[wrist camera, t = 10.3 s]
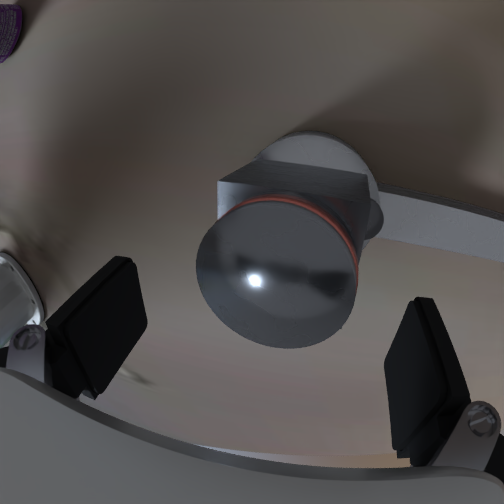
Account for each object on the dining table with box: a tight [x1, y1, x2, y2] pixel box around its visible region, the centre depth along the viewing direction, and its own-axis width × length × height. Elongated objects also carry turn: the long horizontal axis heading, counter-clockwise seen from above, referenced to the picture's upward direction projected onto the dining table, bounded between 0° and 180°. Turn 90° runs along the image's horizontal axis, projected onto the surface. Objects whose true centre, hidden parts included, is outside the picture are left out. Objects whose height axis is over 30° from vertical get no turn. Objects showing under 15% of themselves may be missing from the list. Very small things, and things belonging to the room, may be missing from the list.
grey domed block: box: [196, 159, 371, 348], centre depth 13 cm, size 6×6×7 cm
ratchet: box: [252, 131, 504, 262], centre depth 14 cm, size 30×8×6 cm, turn 87°
